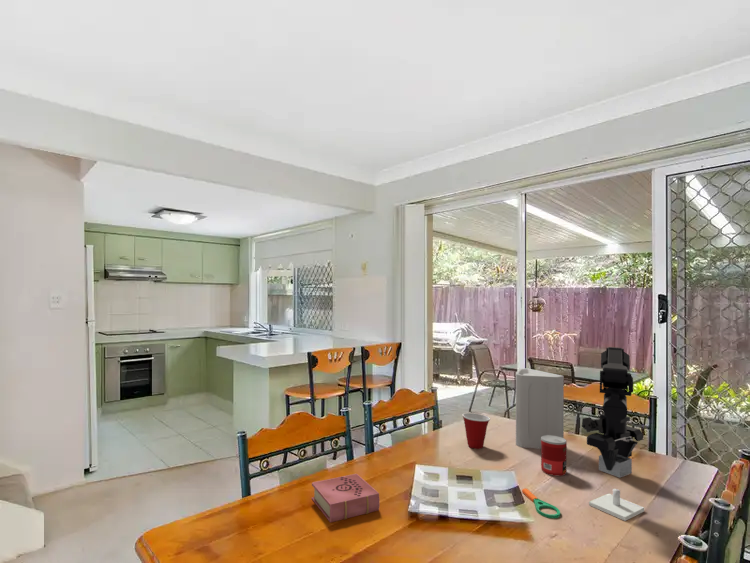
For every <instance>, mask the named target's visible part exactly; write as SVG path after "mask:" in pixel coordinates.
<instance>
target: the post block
mask: <svg viewBox="0 0 750 563" xmlns="http://www.w3.org/2000/svg"><path fill="white" fill-rule="evenodd" d="M588 503H589V504H588V505H589V506H590V507H592V508H594V509H597V510H600V511H602V512H604V513H606V514H608V515H611V516H613V517H615V518H617V519H619V520H622V521H624V522H626V521H627V520H630V519H632V518H634V517H636V516H638V515H640V514H642V513H643V512H645V507H644V506H642V505H639V504H638V503H637V504H636V503H634V502H631V501H630V500H626V499H625V498H622V497H621V490H620V489H618V488H612V493H606V494H603V495H602V496H599V497H597V498H594V499H592V500H590V501H589V502H588Z"/></svg>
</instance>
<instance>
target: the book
mask: <svg viewBox="0 0 750 563" xmlns="http://www.w3.org/2000/svg"><path fill="white" fill-rule="evenodd" d="M311 486H312V487H313V490H314V492H313V493H314V496H312V497H311V500H312V501H313V502H314V504H315V505H316V506H317V507H318V509H319V510H320V511H321V513H322V514H323V515H324V517H325V518H326V519H327V520H328V522H329V523H333V522H339V521H342V520H347V519H349V518H353V517H357V516H360V515H365V514H366V515H368V514H369V513H372V512H377V511H380V493H379V492H378V491H377V490H376V489H375V488H374V487H373V486H372V485H370V484H369V482H367V481H366V480H365V479H363V477H361V476H360V475H359V474H358V473H353V474H347V475H343V476H338V477H333V478H329V479H324V480H317V481H313V482H312V483H311Z"/></svg>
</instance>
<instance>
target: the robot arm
mask: <svg viewBox="0 0 750 563" xmlns="http://www.w3.org/2000/svg"><path fill="white" fill-rule="evenodd" d="M630 363H631V361H630V354H628V353H627V352H625V350H624V348H622V347H615V346H612V347H611V346H608V347H606V350H605V351H603V352H601V353H600V367H601V369H602V370H599V394H603V404H602V405H603V406H602V411H603V412H602V414H600V415H599V418H592V417H591V416H589V417H583V418H582V420H581V427H582V428H583V430H586V433H590V432H595V431H598V432H595V433H591V434H588V435H587V436H586V445H588V446H590V447H593V448H597V450H599V452H600V455H602V457H603V460H604V463H605V466H606V469H607V470H609V471H611V470H612V467H613V464H614V461H615V458H616V455H617V454H618V455H621V456H624V457H628V458H630V457H632V456H633V450H634V449H635V447H636V445H638V442H640V441H642V440H644V439H643V438H644V436H643V432H642V430H641V429H640V428H635V427H632V426H628V422H630V421H631V416H628V404H627V403H628V400H627V398H628V397H632V394H633V393H634V376H632V374H631V373H630V372H629V371H630V368H631V367H630V365H631V364H630ZM633 438H634V440H633Z"/></svg>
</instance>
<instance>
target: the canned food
mask: <svg viewBox="0 0 750 563" xmlns="http://www.w3.org/2000/svg"><path fill="white" fill-rule="evenodd" d="M567 445H568V444H567V439H565V438H562V437H558V436H552V435H546V436H542V437H541V449H540V466H541V471H542V472H543V473H545V474H546V475H550V476H555V477H561V476H565V475H566V473H567V466H568V465H567V460H568V459H567V457H568V456H567V452H568V449H567Z"/></svg>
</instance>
